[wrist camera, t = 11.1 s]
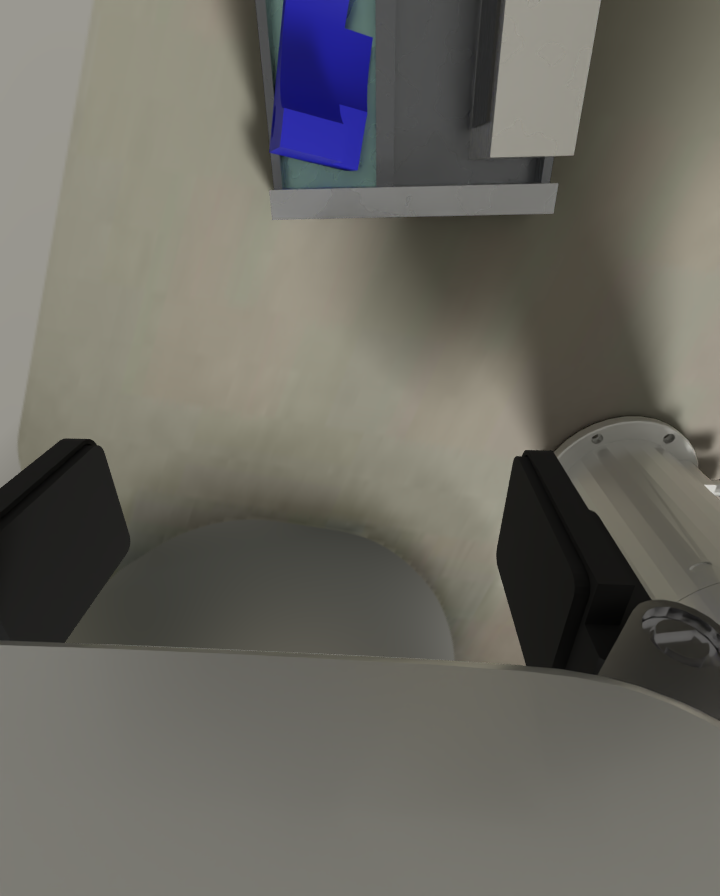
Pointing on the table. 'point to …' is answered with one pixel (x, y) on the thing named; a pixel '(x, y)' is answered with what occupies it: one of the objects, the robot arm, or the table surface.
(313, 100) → the blue curved block
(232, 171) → the table surface
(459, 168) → the grey holder tray
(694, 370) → the table surface
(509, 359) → the table surface
